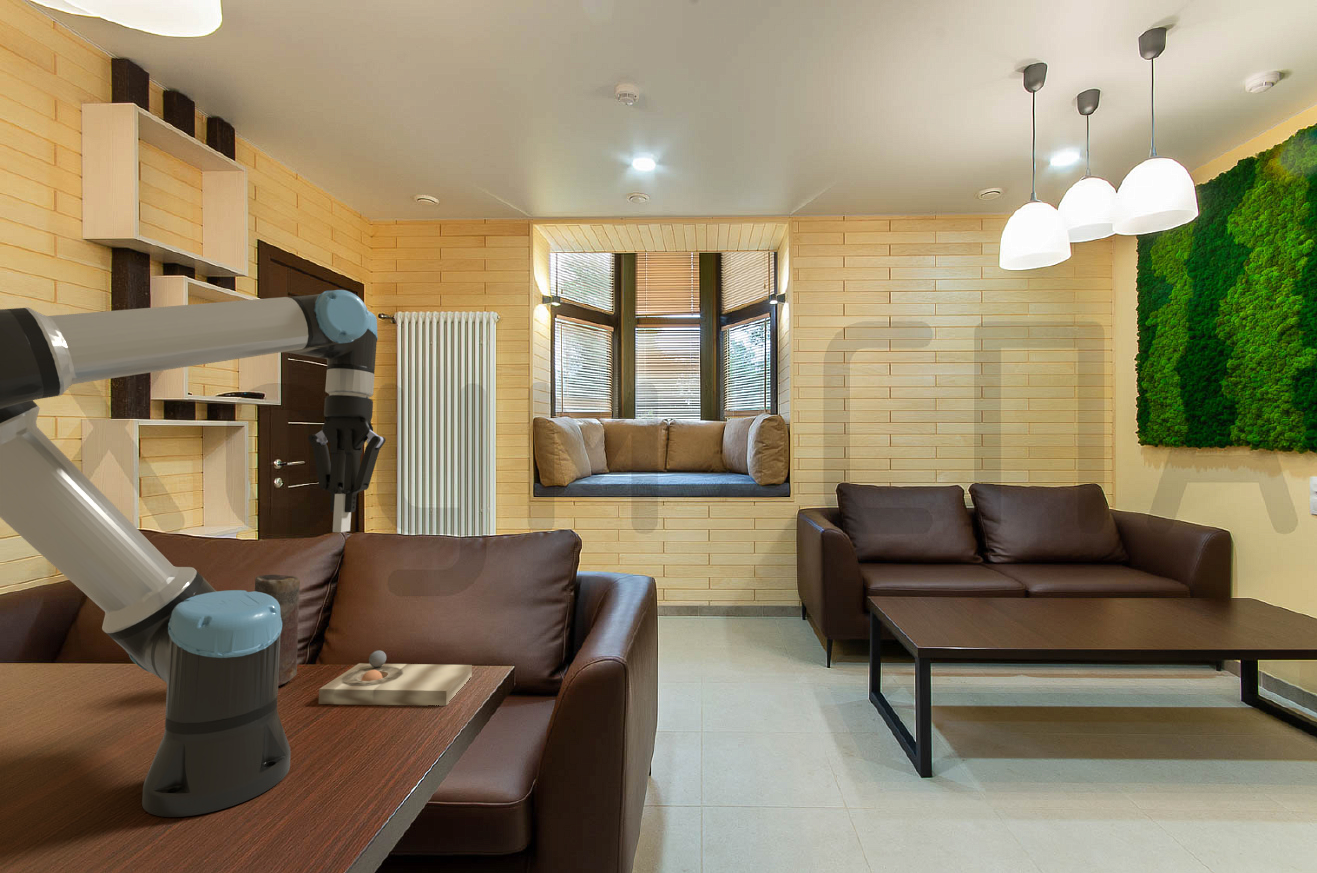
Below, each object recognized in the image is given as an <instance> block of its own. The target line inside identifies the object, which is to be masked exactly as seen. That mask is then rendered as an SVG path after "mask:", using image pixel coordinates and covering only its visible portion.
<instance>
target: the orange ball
mask: <svg viewBox="0 0 1317 873" xmlns="http://www.w3.org/2000/svg"><path fill="white" fill-rule="evenodd" d="M379 679H382V674H381V673H380V672H379V671H377V670H370V671H368V672H366V673H365V674H364V675H363V677H362V680H361V681H373V680H379Z"/></svg>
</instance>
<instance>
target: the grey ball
mask: <svg viewBox="0 0 1317 873" xmlns="http://www.w3.org/2000/svg"><path fill="white" fill-rule="evenodd" d="M386 661H387V654H386V653H385V652H384V651H383V650H380V649H379V650H375V651H373V652H372V653H371V654H370V655H369V657H368V664H370V665H371V666H373V667H380V666H382V665H383V664H386Z"/></svg>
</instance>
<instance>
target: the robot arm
mask: <svg viewBox="0 0 1317 873" xmlns="http://www.w3.org/2000/svg"><path fill="white" fill-rule="evenodd" d="M378 339H379V338H378V320H377V316H376V315H375V314H374V313H373V312H372V311H369V310H368V307H367V306H366V304H365V302H364V301H363V300H362V299H361V298H360V297H359V296H358V295H357V294H355V293H354V292H351V291H349V290H344V289H335V290H325V291H323V292H321V293H318V294H309V295H308V294H307V295H297V296H296V295H295V296H282V297H269V298H258V299H245V300H231V301H221V302H220V301H219V302H210V303H209V302H206V303H196V304H195V303H194V304H192V303H191V304H183V305H182V304H181V305H168V306H156V307H144V308H131V309H118V310H108V311H107V310H105V311H95V312H82V313H70V314H68V313H67V314H57V315H45V314H43V313H40V312H39V311H36V310H35V309H32V308H31V307H16V308H0V519H1V520H3V521H4V522H5V523H6V524H7V525H8V526H9V527H10V528H11V529H12V530H14V532H16V533H17V534H18V535H19V536H20V537H22V539H23V540H25V542H27V543H28V544H29V545H30V546H31V547H32V548H34V549H35V551H37V552H38V553H39V554H40V555H42V557H43V558H45V560H46V561H47V562H49V563H50V564H51V565H53V567H55V568H56V569H57V570H58V571H59V572H60V573H61V574H62V575H63V576H65V577H66V579H68V580H69V581H70V582H71V583H72V584H73V585H75V586H76V588H78V589H79V590H80V591H81V592H83V593H84V594H85V596H87V597H88V598H89V599H90V600H91V601H92V602H93V603H95V605H96V606H98V607H99V608H100V610H102V611H103V612H104V618H103V622H102V627H101V629H102V631H103V632H104V633H105V634H107V635H108V637H110V638H111V639H112V640H113V641H114V642H115V643H116V644H118V645H119V646H120V647H121V648H122V649H123V650H124V651H125V653H127V654H128V656H129V658H130V660H131V661H132V662H133V663H134V664H136V665H137V667H139V668H140V669H142V670H144V671H146V672H149V673H150V674H152V675H155V676H156V677H157V678H159V679H161V680H162V681H163V682H164V683H166V697H165V698H166V699H165V718H164V719H165V721H164V722H165V723H164V733H163V737H162V739H161V741H160V743H159V746H158V748H157V750H156V754H155V755H154V757H153V760H152V762H151V764H150V767H149V770H148V772H147V774H146V777H145V779H144V782H143V785H142V786H143V787H142V797H141V798H142V800H141V805H142V809H143V810H144V811H146V812H147V813H149V814H151V815H154V816H158V817H166V818H179V817H181V818H182V817H192V816H197V815H203V814H209V813H212V812H216V811H220V810H223V809H227V808H230V807H233V806H236V805H238V804H241V803H244V802H247V801H249V800H251V799H254V798H256V797H258V796H260V795H262V794H264V793H265V792H268V791H269V790H270V789H272V788H273V787H275V786H277V785H278V784H279V783H280V782H282V780H283V779H285V777H287V775H288V773H289V772H290V768H291V747H290V744H289V741H288V738H287V735H286V733H285V730H284V726H283V725H282V722H281V718H280V716H279V713H278V697H279V696H278V694H279V686H278V678H279V658H280V638H281V630H282V620H281V614H280V605H279V603H278V601H277V600H276V599H275V598H273V597H272V596H270V595H268V594H265V593H261V592H256V591H255V590H253V591H247V590H242V589H237V590H236V589H231V590H220V591H217V590H216V589H215V588H214V587H213V586H212V585H211V584H210V583H209V582H208V581H207V579H205V577H204V576H202V575H201V574H200V573H199V571H197V569H195V568H194V567H191V566H174V565H173V564H172V563H171V562H170V561H169V560H168V559H167V558H166V557H165V556H164V554H163V553H162V552H160V550H159V549H157V547H156V546H155V545H154V544H152V542H150V540H148V538H147V537H146V536H145V535H144V533H142V532H141V531H140V530H139V529H138V528H137V527H136V525H134V524H133V523H132V522H131V521H130V519H128V518H127V517H126V515H124V513H122V512H121V510H120V509H118V508H117V507H116V505H114V504H113V502H111V501H110V499H109V498H107V497H106V495H105V494H104V493H103V492H102V491H101V490H100V489H99V488H98V487H97V486H96V485H95V484H94V483H93V482H92V481H91V480H90V479H89V478H88V477H87V476H86V475H85V474H84V473H83V472H82V471H81V470H80V469H79V468H78V467H77V465H75V464H74V463H73V462H72V461H71V460H70V459H69V458H68V456H66V455H65V454H64V453H63V452H62V451H61V449H59V447H57V445H55V444H54V442H53V441H52V440H51V439H50V438H49V437H48V436H47V435H46V434H45V433H44V432H43V431H42V430H41V429H40V428H39V427H38V426H37V425H38V424H37V420H38V416H39V411H40V409H41V408H40V406H39V405H38V404H37V403H36V402H35V401H36V400H41V399H47V398H54V397H59V396H63V394H64V393H66V391H67V390H68V389H69V388H70V387H71V386H72V385H77V384H84V383H89V382H91V383H92V382H97V381H103V380H110V379H115V378H116V379H117V378H122V377H129V376H136V375H142V374H148V373H154V372H155V373H156V372H161V371H167V370H174V369H181V368H188V367H195V366H200V365H208V364H213V363H219V362H220V363H221V362H228V361H233V360H234V361H235V360H240V359H245V358H253V357H258V356H265V355H272V354H278V353H289V354H294V355H300V356H301V355H302V356H308V357H313V358H318V359H324V360H326V375H325V376H326V377H325V378H326V379H325V389H324V392H325V393H327V394H328V395H327V396H326V397H324V406H323V408H324V409H323V416H324V419H325V420H324V423H323V425H322V427H321V430H320V431H319V432H317V433H315V434H309V435H308V436H307V440H308V442H309V444H310V445H311V447H312V452H313V457H314V463H315V468H316V475H317V480H318V486H319V488H320V489H321V490H323V491H326V492H328V493H329V494H330V496H329V497H330V500H329V511H330V513H333V518H332V519H333V521H332V533H345V532H351V519H352V513H355V512H356V509H357V496H358V493H360V492H362V491H366V490H368V489H369V487H370V483H371V480H372V476H373V474H374V469H375V467H376V463H377V459H378V457H379V453H380V450H381V449H382V447H383V446H384V444H385V443H386V440H387V439H386V438H385V436H380V435H378V434H377V433H376V432H374V427H373V425H372V418H373V413H374V412H373V410H374V408H373V407H374V401H373V400H372V398H371V397H373V396H374V390H375V389H374V388H375V387H374V386H375V373H376V372H375V369H376V356H377V344H378ZM327 443H329V444H330V445H329V447H328V445H327ZM366 443H367V444H366ZM364 444H366V446H365V449H364V452H363V445H364ZM330 454H331V457H330ZM362 454H363V456H362V460H361V455H362Z"/></svg>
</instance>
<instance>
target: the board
mask: <svg viewBox="0 0 1317 873" xmlns="http://www.w3.org/2000/svg"><path fill="white" fill-rule="evenodd" d="M370 670H377V671H379V672H380V673H381V674H382V679H379V680H373V681H361V680H362V677H363V675H364V674H365V673H366V672H368V671H370ZM472 672H473V665H472V664H433V663H431V664H430V663H429V664H425V663H424V664H422V663H421V664H420V663H419V664H418V663H414V664H413V663H412V664H411V663H384V664H383V665H382V666H380V667H373V666H371V665H370V663H363V662H362V663H360V662H359V663H357V664H356V665H354V666H353V667H351V668H350V669H348V670H346V671H345V672H343V673H342V674H340V675H339V676H338V677H336V678H334V679H333V680H331V681H329V682H327V684H324V685H323V686H322V687H320V688H319V689H318V705H357V706H359V705H365V706H369V705H370V706H372V705H373V706H378V705H379V706H428V705H435V706H436V705H437V707H439V706H440V707H441V706H443V707H445V706H448V704H449V703H450V702H451V701H452V700H453V699H454V698H455V697H456V696H457V695H456V693H457V692H458V691H459V690H460V689H461V688H462V687H463V686H464V684H466V682H467V681H468V680H469V678H470V677H472V676H473V673H472ZM472 678H473V677H472ZM469 681H470V680H469ZM466 685H467V684H466ZM464 687H465V686H464ZM464 687H463V688H464ZM463 688H462V689H463ZM462 689H461V690H462ZM461 690H460V691H461ZM460 691H459V692H460ZM459 692H458V693H459ZM458 693H457V694H458ZM455 695H456V696H455ZM454 696H455V697H454ZM453 697H454V698H453ZM452 698H453V699H452ZM451 699H452V700H451ZM450 700H451V701H450ZM449 701H450V702H449ZM438 705H439V706H438Z"/></svg>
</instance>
